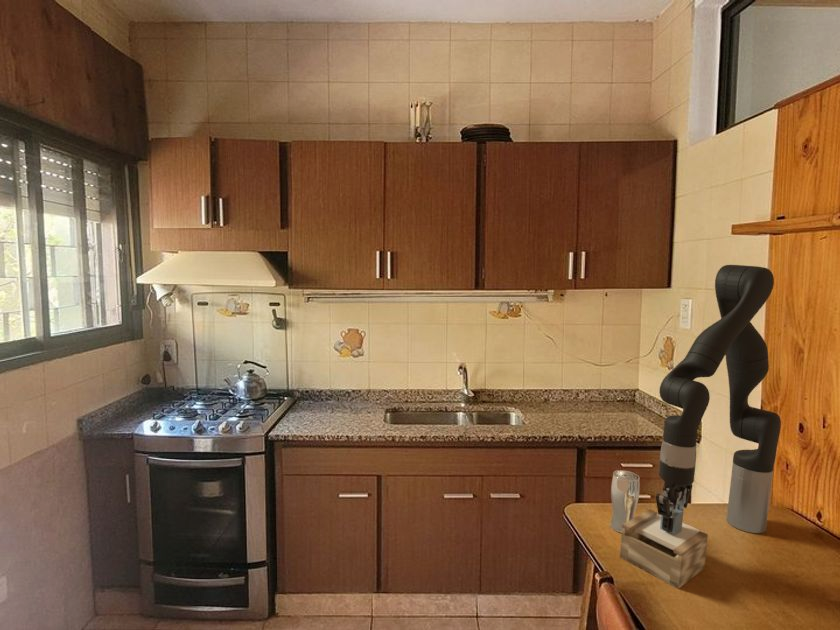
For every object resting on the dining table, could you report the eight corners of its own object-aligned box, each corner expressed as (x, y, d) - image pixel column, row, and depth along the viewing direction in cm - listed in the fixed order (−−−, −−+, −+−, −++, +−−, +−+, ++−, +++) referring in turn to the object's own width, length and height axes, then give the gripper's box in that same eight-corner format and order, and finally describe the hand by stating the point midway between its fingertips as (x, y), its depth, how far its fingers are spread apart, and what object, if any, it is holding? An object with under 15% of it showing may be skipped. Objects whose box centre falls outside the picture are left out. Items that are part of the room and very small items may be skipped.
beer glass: (640, 528, 131) (644, 475, 130) (629, 538, 127) (634, 483, 125) (614, 518, 136) (619, 467, 135) (603, 527, 132) (607, 474, 130)
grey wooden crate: (647, 539, 126) (649, 509, 125) (704, 567, 115) (707, 534, 114) (619, 557, 118) (622, 524, 117) (678, 588, 107) (681, 553, 106)
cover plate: (658, 516, 126) (660, 494, 126) (706, 538, 117) (709, 513, 116) (634, 531, 119) (636, 507, 118) (683, 555, 110) (686, 529, 109)
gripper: (675, 448, 123) (669, 513, 125) (647, 461, 114) (641, 530, 116) (707, 459, 117) (700, 526, 119) (679, 473, 109) (672, 545, 111)
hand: (671, 527), depth 118 cm, fingers closed on cover plate, 3 cm apart
